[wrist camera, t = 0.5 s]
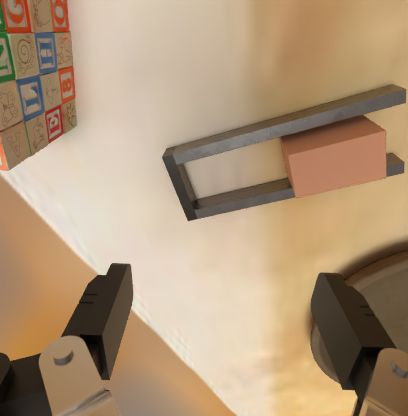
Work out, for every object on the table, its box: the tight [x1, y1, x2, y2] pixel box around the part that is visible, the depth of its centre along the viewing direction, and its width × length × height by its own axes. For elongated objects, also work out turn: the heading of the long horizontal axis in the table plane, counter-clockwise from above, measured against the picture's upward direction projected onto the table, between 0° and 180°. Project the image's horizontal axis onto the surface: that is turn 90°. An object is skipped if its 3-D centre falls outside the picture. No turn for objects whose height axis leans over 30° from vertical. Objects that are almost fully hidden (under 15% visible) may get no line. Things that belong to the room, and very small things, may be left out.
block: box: [280, 115, 386, 198], centre depth 29 cm, size 8×4×6 cm, turn 108°
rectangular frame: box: [162, 84, 406, 221], centre depth 31 cm, size 23×8×2 cm, turn 108°
